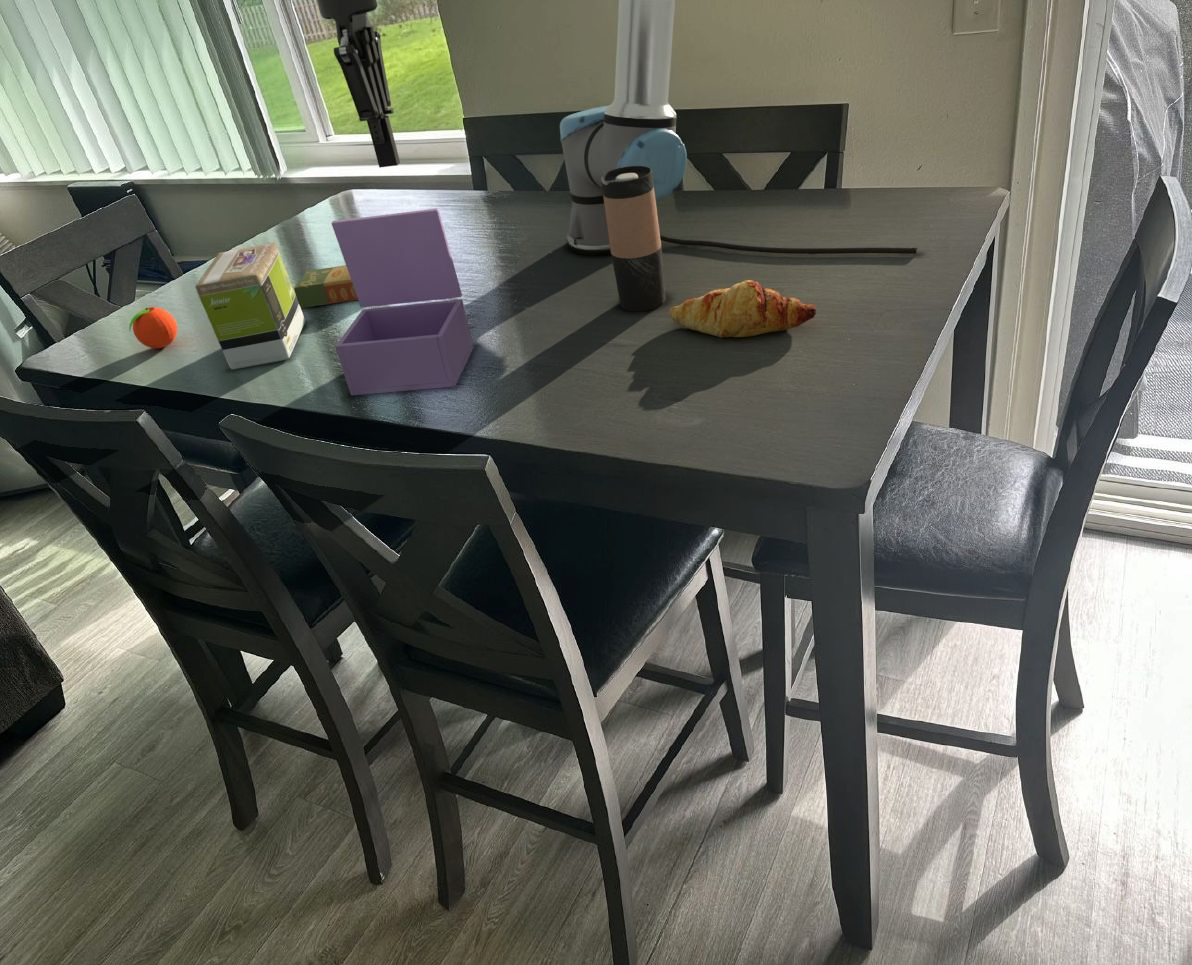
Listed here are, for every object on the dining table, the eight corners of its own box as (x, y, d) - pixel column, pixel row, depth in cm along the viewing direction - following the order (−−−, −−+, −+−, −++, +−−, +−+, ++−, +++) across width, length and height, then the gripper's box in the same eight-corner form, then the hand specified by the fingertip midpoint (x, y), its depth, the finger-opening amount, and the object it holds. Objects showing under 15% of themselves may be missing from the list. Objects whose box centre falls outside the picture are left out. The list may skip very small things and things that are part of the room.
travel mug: (672, 291, 147) (658, 164, 136) (659, 312, 142) (643, 180, 131) (627, 292, 150) (609, 166, 139) (612, 312, 144) (592, 183, 133)
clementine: (153, 360, 156) (135, 321, 152) (129, 355, 160) (111, 317, 156) (192, 339, 162) (175, 301, 158) (167, 335, 165) (151, 298, 161)
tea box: (250, 332, 160) (218, 250, 152) (307, 322, 160) (278, 239, 152) (228, 371, 148) (192, 283, 139) (290, 360, 147) (258, 272, 139)
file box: (455, 386, 131) (441, 336, 127) (350, 395, 134) (334, 346, 129) (474, 346, 141) (462, 298, 137) (376, 355, 144) (362, 309, 140)
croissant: (668, 354, 137) (654, 321, 130) (680, 299, 141) (667, 264, 134) (815, 354, 129) (808, 319, 122) (823, 296, 133) (817, 259, 127)
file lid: (437, 210, 128) (438, 208, 129) (331, 223, 131) (332, 220, 131) (461, 297, 136) (462, 294, 137) (360, 307, 139) (362, 305, 140)
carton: (386, 297, 165) (379, 274, 162) (299, 309, 166) (291, 286, 164) (395, 279, 172) (389, 257, 169) (312, 290, 173) (304, 269, 171)
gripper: (331, -21, 127) (378, 155, 140) (296, -9, 116) (350, 181, 129) (383, -30, 125) (426, 149, 138) (352, -18, 115) (402, 175, 128)
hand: (389, 164), depth 134 cm, fingers closed
